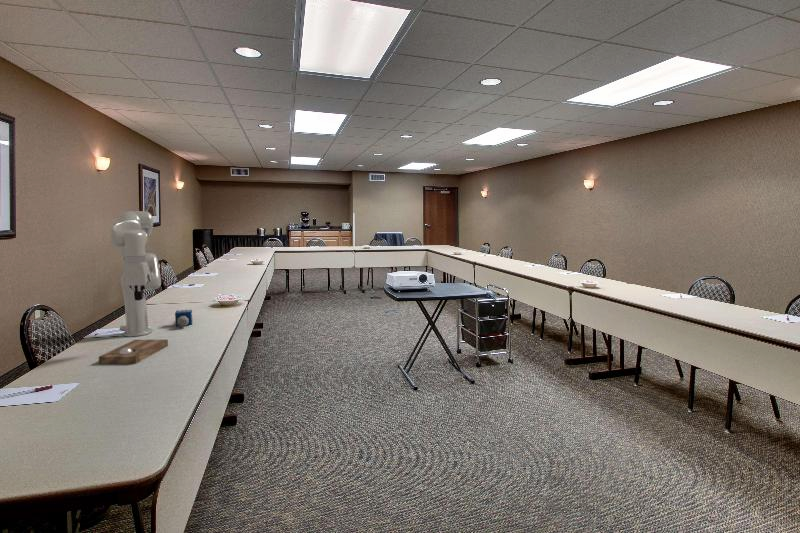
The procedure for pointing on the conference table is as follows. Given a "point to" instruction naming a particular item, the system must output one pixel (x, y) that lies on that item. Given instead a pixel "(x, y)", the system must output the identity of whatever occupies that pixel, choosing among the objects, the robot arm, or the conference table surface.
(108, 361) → the deck
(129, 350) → the ball
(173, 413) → the conference table surface
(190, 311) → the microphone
